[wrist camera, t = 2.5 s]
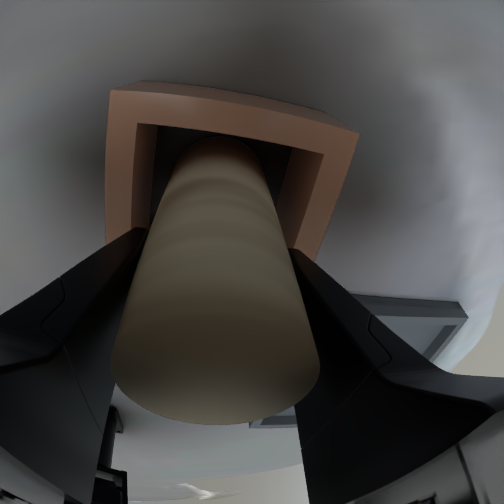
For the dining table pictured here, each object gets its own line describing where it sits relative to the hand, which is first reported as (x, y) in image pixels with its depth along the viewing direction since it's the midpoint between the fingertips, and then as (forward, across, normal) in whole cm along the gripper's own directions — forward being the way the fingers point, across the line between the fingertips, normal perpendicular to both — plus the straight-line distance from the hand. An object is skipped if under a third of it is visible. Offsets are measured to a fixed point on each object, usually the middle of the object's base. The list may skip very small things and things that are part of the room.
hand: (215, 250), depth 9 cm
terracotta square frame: (+6, 0, 0) cm, 6 cm away
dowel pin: (+6, 0, 0) cm, 6 cm away
